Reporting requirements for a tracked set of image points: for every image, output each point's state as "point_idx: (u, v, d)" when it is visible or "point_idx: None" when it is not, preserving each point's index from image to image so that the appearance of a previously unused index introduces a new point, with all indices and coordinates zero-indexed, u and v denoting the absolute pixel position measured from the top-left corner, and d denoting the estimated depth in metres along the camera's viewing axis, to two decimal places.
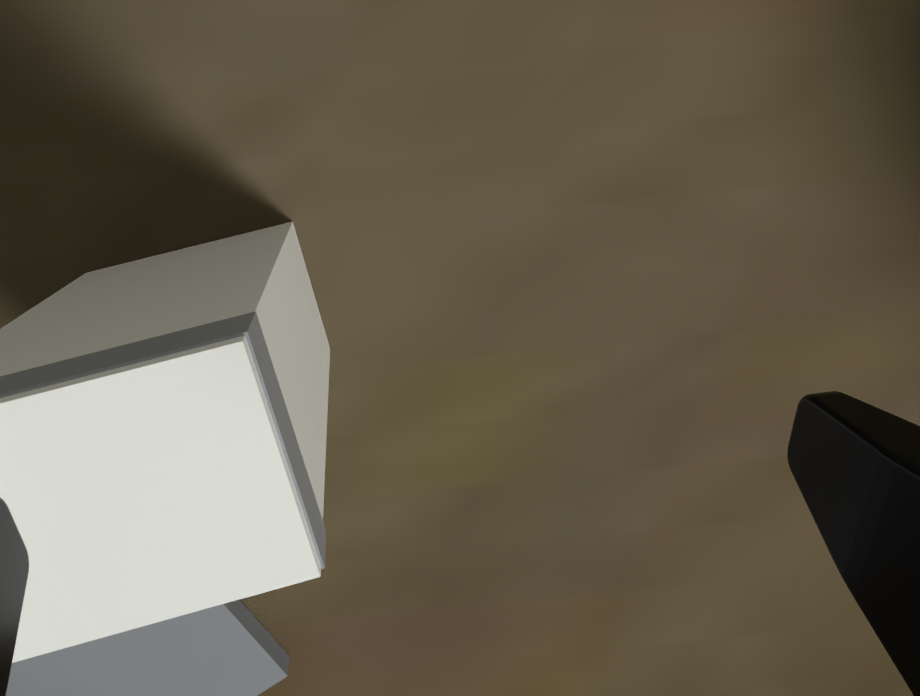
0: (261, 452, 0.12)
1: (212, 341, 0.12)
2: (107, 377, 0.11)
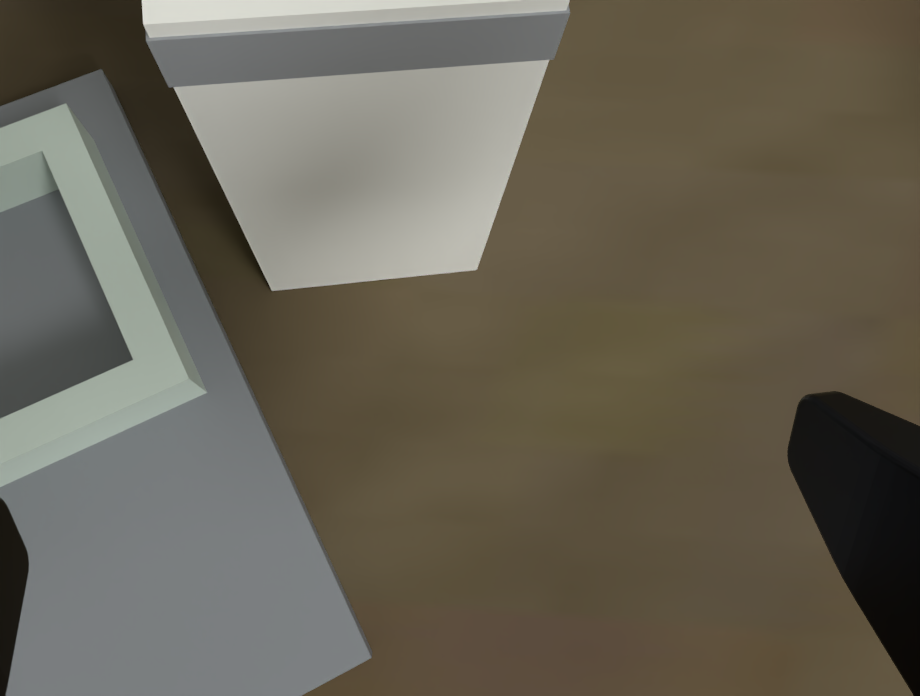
0: None
1: None
2: None
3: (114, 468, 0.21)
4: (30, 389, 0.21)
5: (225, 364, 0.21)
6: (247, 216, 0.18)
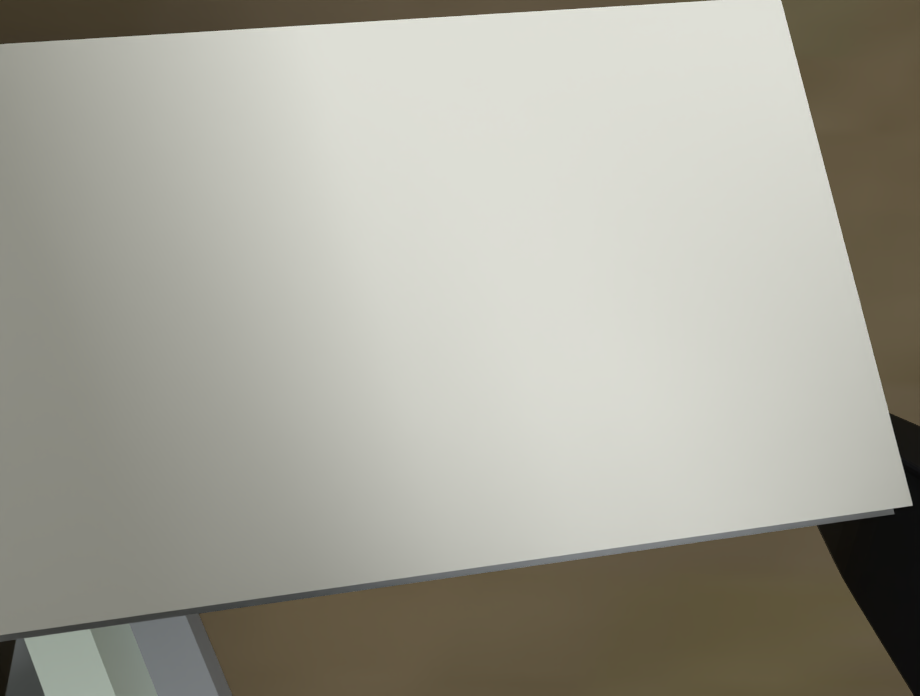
0: (799, 199, 0.06)
1: None
2: (537, 23, 0.06)
3: None
4: None
5: None
6: None
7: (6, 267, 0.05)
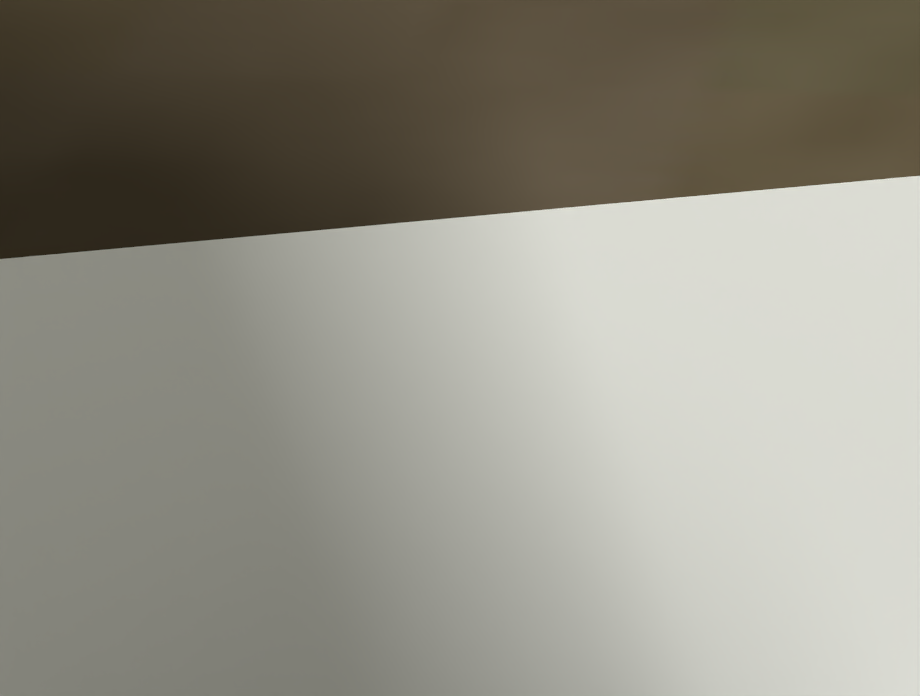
0: None
1: None
2: (690, 212, 0.04)
3: None
4: None
5: None
6: None
7: None
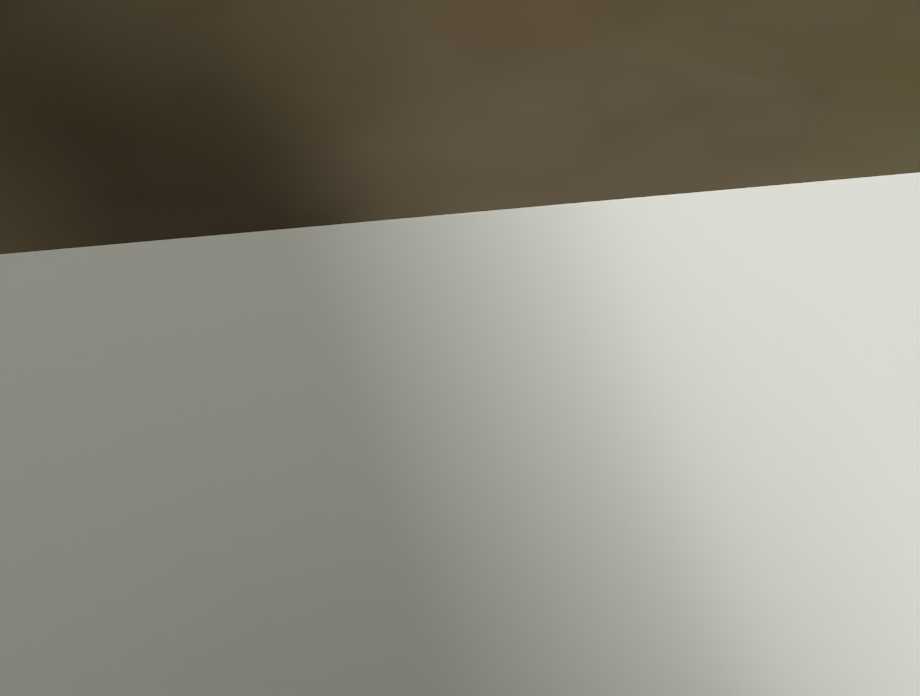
0: None
1: None
2: (695, 208, 0.04)
3: None
4: None
5: None
6: None
7: None
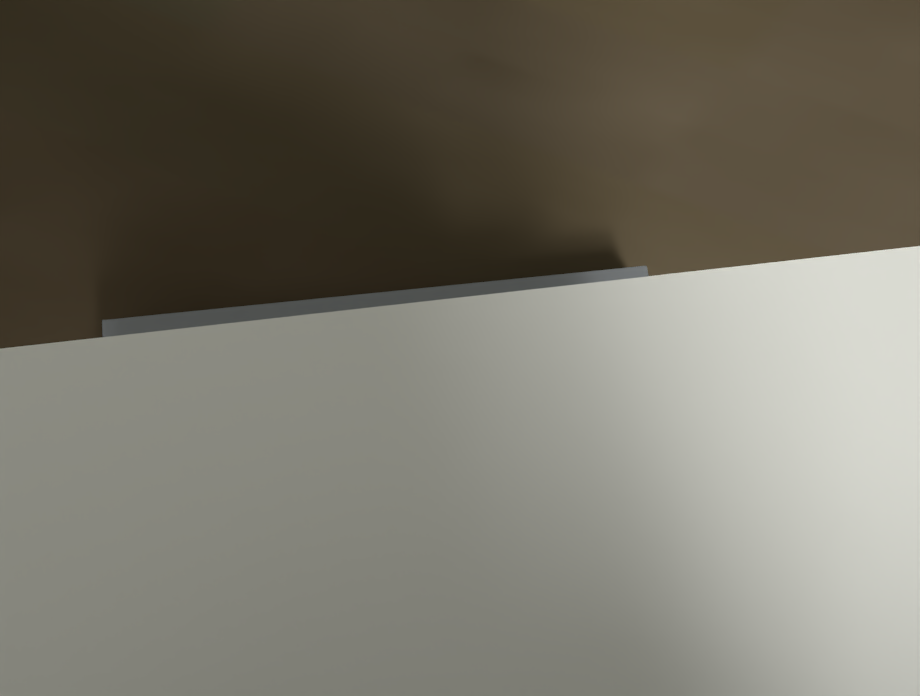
0: None
1: None
2: (621, 290, 0.05)
3: None
4: None
5: None
6: None
7: None
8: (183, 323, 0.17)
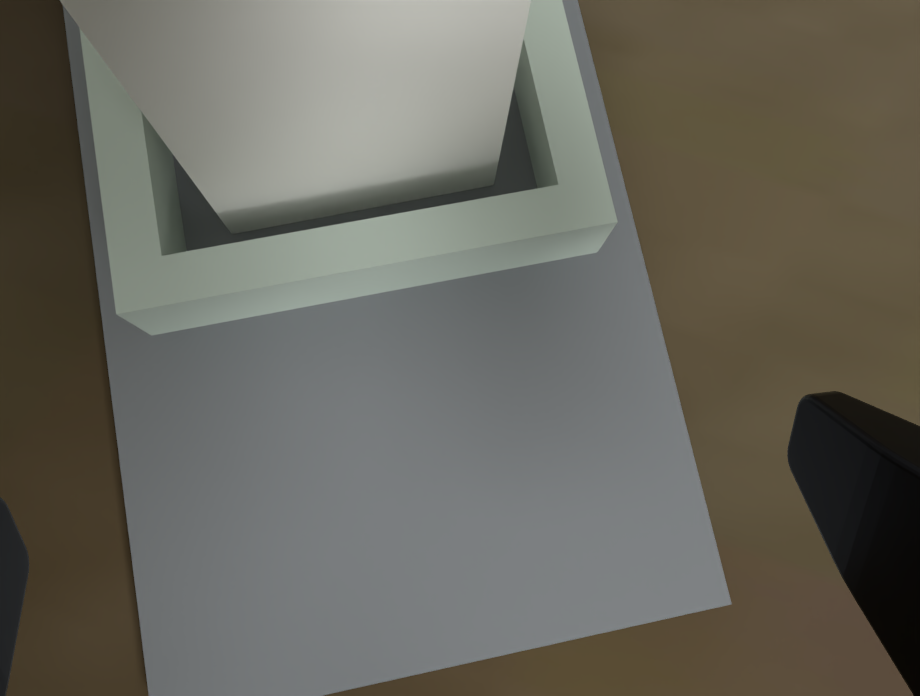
0: None
1: None
2: None
3: (480, 309, 0.18)
4: None
5: (623, 226, 0.18)
6: (159, 111, 0.12)
7: None
8: None
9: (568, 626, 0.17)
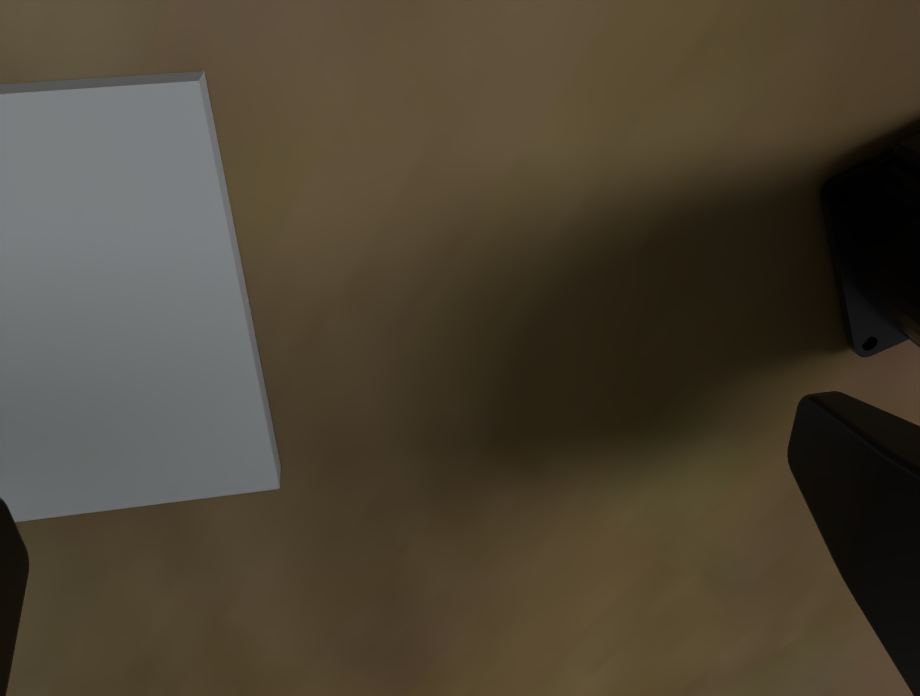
0: None
1: None
2: None
3: None
4: None
5: None
6: None
7: None
8: None
9: (216, 226, 0.20)
